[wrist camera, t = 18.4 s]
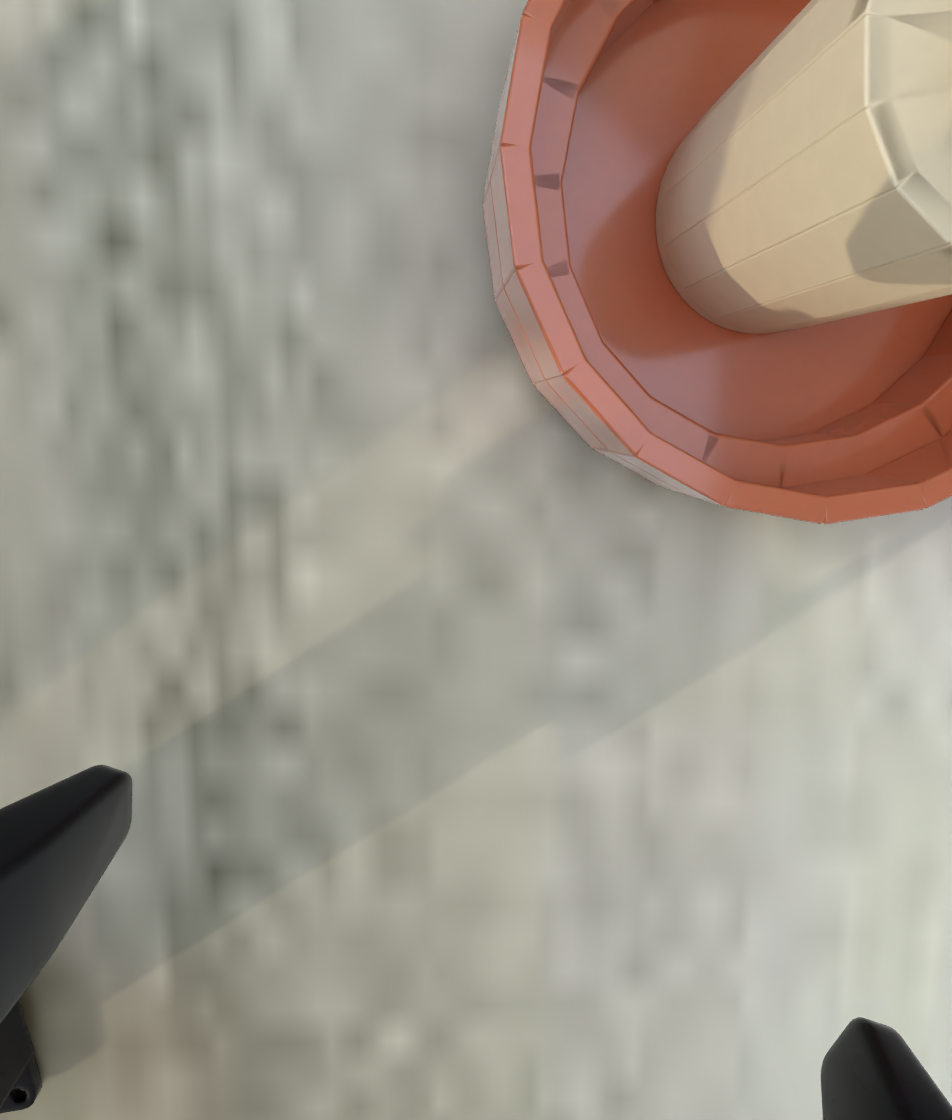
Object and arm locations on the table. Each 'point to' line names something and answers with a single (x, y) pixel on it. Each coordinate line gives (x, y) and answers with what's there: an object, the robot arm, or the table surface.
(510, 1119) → the table surface
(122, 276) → the table surface
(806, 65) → the bottle
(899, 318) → the bowl
